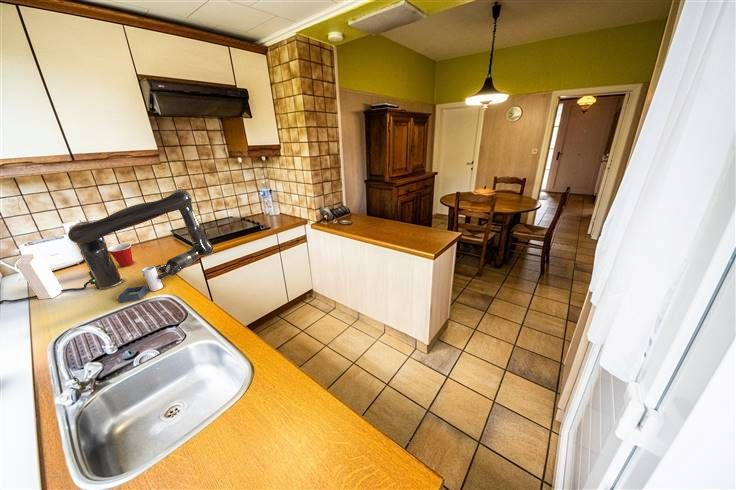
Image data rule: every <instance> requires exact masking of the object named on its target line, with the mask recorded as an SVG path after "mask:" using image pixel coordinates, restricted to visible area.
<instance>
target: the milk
mask: <svg viewBox="0 0 736 490" xmlns="http://www.w3.org/2000/svg"><path fill="white" fill-rule="evenodd" d="M19 257H20V259H19V260H18V262H17V263H16V267H17V268H18V270H19V271H20V273H21V274H22V276H23V277H24V278H25V280H26V282H27V284H28V285H29V287H30V288H31V289H32V292H34V294H35V295H37V297H36V298H38V300H45V299H46V300H47V299H53V298H55V297H57V296H58V295H60V294H62V293H63V292H61V290H63V287H62V286H61V284H60V282H59V281H58V278H57V277H56V276H55V274H54V273H53V272H54V271H52V269H51V267H50V266H49V264H48V262H47V261H46V260H45V257H41V256H40V257H39V256H35V254H33V253H31V254H21V255H19Z"/></svg>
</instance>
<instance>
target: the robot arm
mask: <svg viewBox="0 0 736 490" xmlns="http://www.w3.org/2000/svg"><path fill="white" fill-rule="evenodd" d="M192 202H193V200H192V196H191V194H190V193H189V191H187V190H184V189H181V188H178V189H175V190H173V191H172V192H171V193H170V195H168V196H165V197H162V198H161V199H157V200H153V201H147V202H146V201H145V202H141V203H137V204H134V205H131V206H128V207H124V208H122V209H119V210H117V211H115V212H113V213H111V214H110V215H109V214H108V215H107V216H106V217H104V218H102V219H98V220H95V221H80V222H77V223H75V224H74V225H72V227H70V229H69V230H68V233H67V237H68V239H69V240H70V241H71V242H73V243H75V244H78V245H79V250H80V255H81V256H82V258H83V261H84V262H85V264H86V266H87V268H88V270H89V271H88V275H89V276H90V279H88V281H87V282H85V283H84V284H83V287H78V288H77V287H72V288H71V287H70V288H64V289H63V288H62V289H63V290H61V292H62V293H65V292H68V291H69V292H70V291H82V290H86V289H87V286H88V285H89V284H90V285H91V286H92V285H94V286H95V287H96V289H98V290H99V289H100V290H106V289H110V288H113V287H116V286H119V285H120V284H122V283H123V282H124V279H123V276H122V274H120V272H119V269H118V268H117V266H116V264H115V261H114V258H113V256H112V255H111V253H110V252H109V251H108V249H107V248H108V245H107V242H106V239H105V236H108V235H111V234H113V233H116V232H119V231H122V230H125V229H129V228H132V227H135V226H138V225H141V224H144V223H147V222H149V221H152V220H154V219H157V218H158V217H161V216H163V215H166V214H169V213H173V212H175V211H176V212H177V211H179V213H180V215H181V218H182V219H183V223H184V225H185V228H186V231H187V233H188V236H189V237H190V238H189V239H190V240H191V241H192V242H193V243H196V244H194V245H193V246H192V247H190V248H189V249H188V250H186V251H184V252H182V253H179V254H178V255H176V256H173V257H171V258H170V259H168V260H167V261H166V263H165V264H162V265H161V264H157V265H154V266H155V268H156V270H157V273H158V278H159V279H160V280H163V279H164V278H167V277H170V276H175V275H177V274H178V273H179V272H182V271H183V270H184V269H185V268H187V267H189V266H190V265H192V264H193V263H195V262H197V261H199V259H200V256H211V255H213V253H214V246H213V244H212V242H211V241H210V240H209V239H208V237H206V235H205V233H204V230H203V228H202V226H201V223H200V222H199V219H198V218H197V215H196V213H195V211H194V209H193V204H192ZM36 298H38V297H37V295H36V294H35V295H31V296H27V297H22V298H16V299H2V300H0V305H2V304H3V303H17V302H22V301H26V300H30V299H36Z"/></svg>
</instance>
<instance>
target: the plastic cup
mask: <svg viewBox="0 0 736 490" xmlns="http://www.w3.org/2000/svg"><path fill="white" fill-rule="evenodd" d="M107 249H108V251H109V253H110V255H111V257H112V258H113V259H114V260H115V261H116V263H118V265H119V266H120V268H124V267H125V268H126V267H130V266H132V265H133V264H134V260H133V254H132V244H131V243H129V242H127V243H126V242H125V243H118V244H114V245H111V246H109V247H107Z"/></svg>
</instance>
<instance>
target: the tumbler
mask: <svg viewBox="0 0 736 490" xmlns="http://www.w3.org/2000/svg"><path fill="white" fill-rule="evenodd" d="M155 266H156V265H150V266H146V267H144V268H142V269H141V270H140V271H141V274H142V276H143V278H144V280H145V282H146V284H147V285H146V286H147V288H148V290H149V291H150V292H156V291H159V290H161V289H163V287H164V284H163V282H162V279H159V278H158V275H159V274H158V273H157V270H156V268H155Z"/></svg>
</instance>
